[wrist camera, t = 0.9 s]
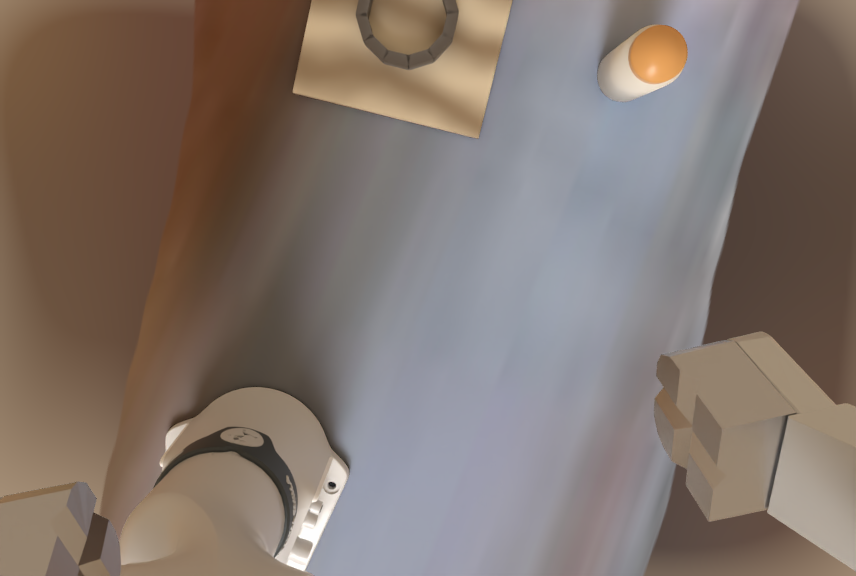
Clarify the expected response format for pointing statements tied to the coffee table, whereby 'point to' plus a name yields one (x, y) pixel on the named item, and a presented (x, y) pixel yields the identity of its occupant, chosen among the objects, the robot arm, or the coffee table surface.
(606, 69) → the bottle
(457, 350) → the coffee table surface
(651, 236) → the coffee table surface
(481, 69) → the board
